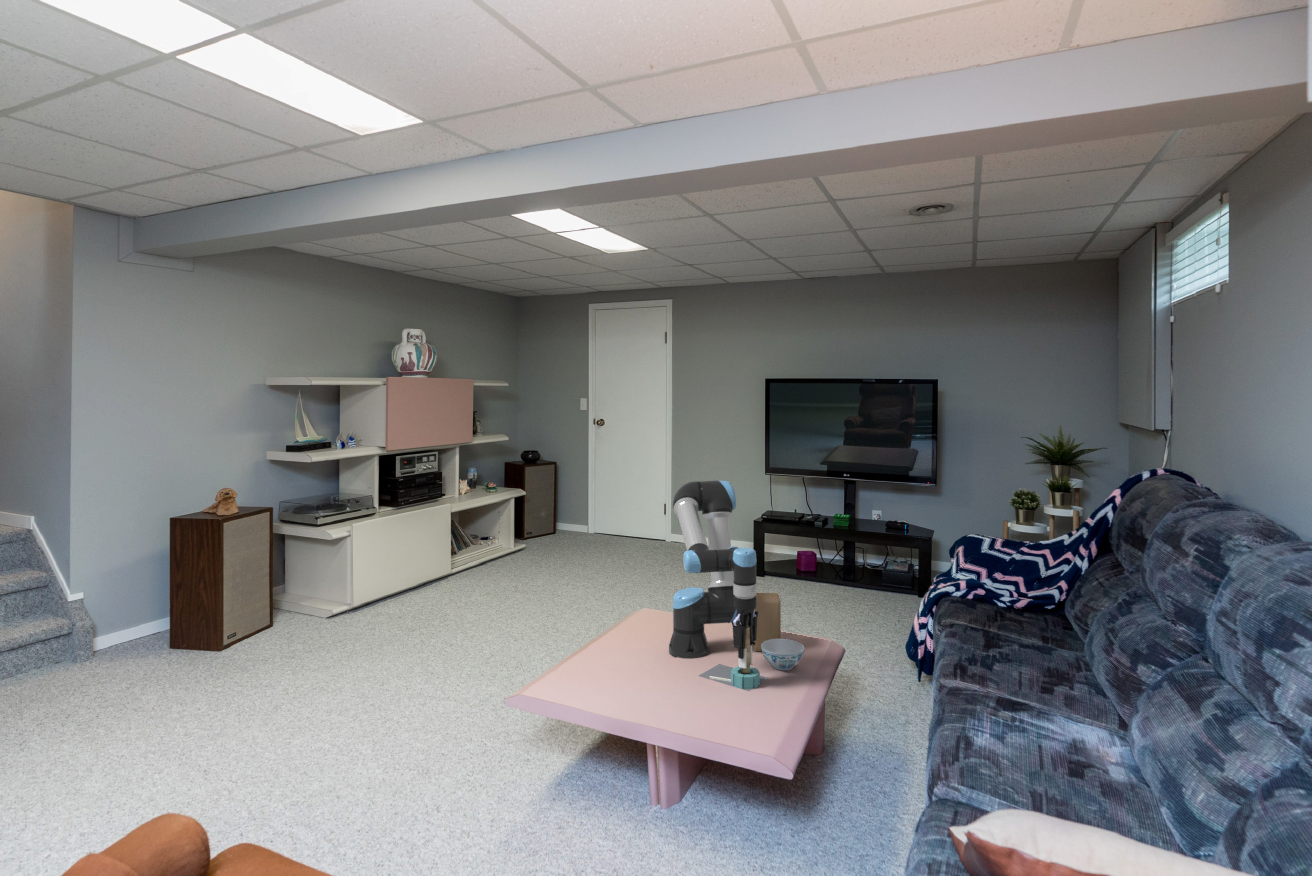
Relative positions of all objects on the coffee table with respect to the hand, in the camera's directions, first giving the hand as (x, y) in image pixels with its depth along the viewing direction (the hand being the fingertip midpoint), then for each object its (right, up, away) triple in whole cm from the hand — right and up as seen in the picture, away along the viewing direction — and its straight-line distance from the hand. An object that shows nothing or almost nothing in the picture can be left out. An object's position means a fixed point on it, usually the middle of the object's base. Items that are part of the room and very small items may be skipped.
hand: (745, 665), depth 227 cm
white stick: (-8, -6, +4) cm, 10 cm away
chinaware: (+15, -6, +14) cm, 21 cm away
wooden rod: (0, -3, 0) cm, 3 cm away
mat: (-3, -6, +6) cm, 9 cm away
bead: (0, -6, 0) cm, 6 cm away
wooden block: (+12, -4, +33) cm, 36 cm away
